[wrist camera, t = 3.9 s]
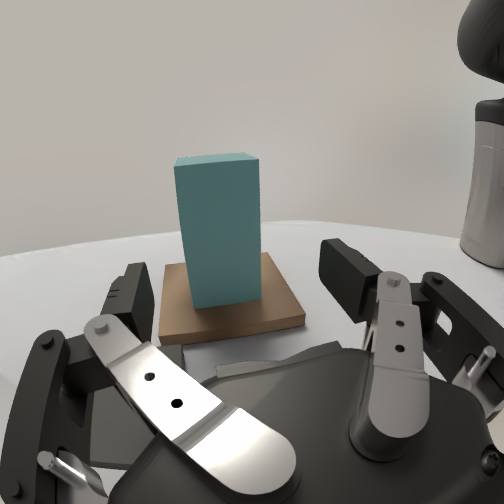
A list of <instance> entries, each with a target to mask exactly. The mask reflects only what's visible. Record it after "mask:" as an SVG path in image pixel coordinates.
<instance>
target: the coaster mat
mask: <svg viewBox="0 0 504 504" xmlns="http://www.w3.org/2000/svg"><path fill="white" fill-rule="evenodd" d="M156 348H157V349H158V350H159V351H160V352H162V353H163V354H164V355H165V356H166V357H167V358H168V359H169V360H171V361H172V362H173V363H174V364H175V365H176V366H177V367H179V368H180V369H181V370H182V371H183V372H185V367H184V354H183V350H182V347H181V344H180V345H170V346H160V347H156ZM153 438H154V437H153V435H152V434H151V433H150V432H149V431H148V430H147V429H146V427H145V426H144V425H143V424H142V422H141V421H140V420H139V419H138V417H137V416H136V415H135V414H134V413H133V411H132V410H131V409H130V408H129V406H128V405H127V404H126V403H125V401H124V400H123V399H122V398H121V396H120V395H119V394H118V392H117V391H116V390H115V388H114V387H113V386H111V387H108V388H105V389H101V390H98V391H95V394H94V402H93V413H92V425H91V442H90V466H91V467H99V468H108V469H118V470H128V469H129V468H130V466H131V465H132V464H133V463H134V462H135V460H136V459H137V458H138V457H139V455H140V454H141V453H142V452H143V450H144V449H145V448H146V447H147V445H148V444H149V443H150V442H151V440H152V439H153Z"/></svg>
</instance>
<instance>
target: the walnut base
mask: <svg viewBox="0 0 504 504" xmlns="http://www.w3.org/2000/svg"><path fill="white" fill-rule="evenodd" d="M261 292H262V299H261V300H255V301H249V302H242V303H235V304H228V305H221V306H214V307H207V308H199V309H194V308H193V302H192V297H191V291H190V285H189V280H188V274H187V267H186V262H185V263H177V264H169V265H165V273H164V282H163V291H162V300H161V310H160V322H159V335H158V336H159V339H160V342H161V345H162V346H170V345H180V344H181V345H184V344H192V343H200V342H208V341H215V340H222V339H229V338H235V337H242V336H248V335H254V334H259V333H265V332H270V331H276V330H281V329H286V328H291V327H296V326H300V325H305V316H306V313H305V312H304V310H303V309H302V307H301V305H300V304H299V302H298V300H297V299H296V297H295V296H294V294H293V292H292V291H291V289H290V288H289V286H288V284H287V283H286V281H285V280H284V278H283V276H282V275H281V273H280V272H279V270H278V268H277V267H276V265H275V264H274V262H273V260H272V259H271V257H270V256H269V254H268V252H265V253H261Z"/></svg>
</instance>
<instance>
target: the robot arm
mask: <svg viewBox="0 0 504 504" xmlns="http://www.w3.org/2000/svg"><path fill="white" fill-rule="evenodd" d="M457 45H458V50H459V54H460V57H461V59H462V61H463V62H464V64H465V65H466V66H467V67H468V68H469V69H470V70H472V71H474V72H475V73H477V74H479V75H482V76H484V77H487V78H490V79H492V80H495V81H498V82H501V83H503V84H504V0H471V1H470V3H469V5H468V7H467V9H466V11H465V12H464V14H463V16H462V19H461V22H460V25H459V29H458V37H457ZM475 121H476V123H475V150H474V163H473V173H472V181H471V188H470V195H469V201H468V206H467V212H466V217H465V222H464V226H463V231H462V235H461V239H460V246H461V248H462V249H463V250H464V251H465V252H466V253H467V254H468V255H470V256H471V257H473V258H475V259H476V260H478V261H480V262H482V263H485V264H487V265H490V266H493V267H497V268H504V98H502V99H498V100H485V101H480V102H478V103H477V104H476V108H475ZM319 277H320V280H321V282H322V283H323V285H324V286H325V287H326V288H327V290H328V291H329V292H330V293H331V294H332V296H333V297H334V298H335V299H336V301H337V302H338V303H339V304H340V306H341V307H342V308H343V309H344V311H345V312H346V313H347V314H348V316H349V317H350V318H351V319H352V321H353V322H354V323H355V324H356V323H360V322H363V321H366V322H367V323H366V327H365V331H364V338H363V344H362V349H361V350H360V349H353V348H342V347H341V345H340V344H339V342H338V341H334V342H330V343H326V344H323V345H319V346H315V347H311V348H309V349H307V350H304V351H302V352H300V353H298V354H296V355H294V356H292V357H290V358H288V359H285V360H282V361H245V362H239V363H233V364H226V365H220V366H216V370H217V376H214V377H212V378H209V379H207V380H205V381H204V382H202V383H200V384H198V383H197V382H196V381H194V380H193V379H192V378H191V377H189V376H188V375H187V374H186V373H185V372H183V371H182V370H181V369H180V368H179V367H177V366H176V365H175V364H174V363H173V362H172V361H171V360H169V359H168V358H167V357H166V356H165V355H164V354H163V353H162V352H160V351H159V350H158V349H157V348H156V347H155V346H154V345H153V344H152V343H151V334H152V324H153V315H154V306H155V303H154V295H153V290H152V287H151V283H150V278H149V274H148V270H147V266H146V264H145V262H142V263H134V264H128V266H127V269H126V272H125V274H124V276H119V277H118V278H117V279H116V280H115V281H114V282H113V283H112V284H111V287H110V289H109V292H108V295H107V298H106V300H105V303H104V305H103V308H102V311H101V314H100V315H99V316H97V317H95V318H93V319H91V320H90V321H89V322H88V323H87V324H86V326H85V328H84V334H82V335H79V336H76V337H72V338H69V339H65V337H64V335H63V333H62V332H61V331H59V330H49V331H46V332H44V333H42V334H41V335H40V336H39V337H38V338H37V339H36V340H35V342H34V344H33V346H32V349H31V351H30V354H29V356H28V359H27V361H26V364H25V367H24V370H23V372H22V375H21V378H20V381H19V384H18V387H17V390H16V394H15V397H14V400H13V404H12V408H11V412H10V415H9V420H8V423H7V428H6V433H5V438H4V443H3V448H2V455H1V461H0V495H1V498H2V499H3V501H4V503H5V504H504V454H503V453H501V452H499V450H497V448H496V447H495V445H494V443H493V441H492V438H491V436H490V433H489V430H488V426H487V423H489V422H491V421H492V420H493V419H494V418H495V417H496V416H497V414H498V413H499V412H500V411H501V410H502V409H503V408H504V328H503V327H502V326H501V325H500V324H499V323H498V322H497V321H495V320H494V319H493V318H492V317H491V316H490V315H489V314H488V313H487V312H486V311H485V310H484V309H483V308H482V307H480V306H479V305H478V304H477V303H476V302H475V301H474V300H473V299H472V298H470V297H469V296H468V295H467V294H466V293H465V292H463V291H462V290H461V289H460V288H459V287H458V286H456V285H455V284H454V283H453V282H452V281H450V280H449V279H448V278H447V277H445V276H444V275H442V274H440V273H436V272H426V273H425V274H424V275H423V278H422V281H421V283H409V280H408V279H407V278H406V277H405V276H403V275H402V274H399V273H396V272H391V271H387V272H383V271H381V270H380V269H379V268H378V267H377V266H376V265H374V264H373V263H372V262H371V261H369V260H368V259H367V258H366V257H364V255H362V254H361V253H360V252H359V251H357V250H355V249H353V248H350V247H348V246H347V245H346V244H345V243H344V242H342V241H341V240H340V239H338V238H336V239H327V240H323V241H322V243H321V249H320V260H319ZM441 310H442V311H443V312H444V313H445V314H446V315H447V316H448V317H449V318H450V320H451V322H452V330H451V332H450V335H448V334H447V333H446V332H445V331H444V330H443V329H442V328H441V327H440V326H439V324H438V323H437V319H438V317H439V315H440V312H441ZM423 351H424V352H425V353H426V355H427V356H428V357H429V358H430V360H431V361H432V362H433V364H434V365H435V366H436V367H437V369H438V370H439V371H440V373H441V374H442V375H443V377H444V378H445V379H446V381H447V382H446V381H443V380H440V379H438V378H435V377H432V376H430V375H428V374H427V373H425V371H424V356H423ZM111 386H113V387H114V388H115V390H116V391H117V392H118V394H119V395H120V396H121V398H122V399H123V400H124V401H125V403H126V404H127V405H128V406H129V408H130V409H131V410H132V411H133V413H134V414H135V415H136V416H137V417H138V419H139V420H140V421H141V422H142V424H143V425H144V426H145V427H146V429H147V430H148V431H149V432H150V433H151V434H152V435H153V437H154V438H153V439H152V440H151V442H150V443H149V444H148V445H147V447H146V448H145V449H144V450H143V452H142V453H141V454H140V455H139V457H138V458H137V459H136V460H135V462H134V463H133V464H132V465H131V466H130V468H129V469H128V470H127V471H126V472H125V474H124V475H123V476H122V477H121V478H120V480H119V481H118V482H117V483H116V484H115V486H114V487H113V489H112V491H111V492H110V495H109V497H108V496H107V494H106V493H105V491H104V488H103V484H102V480H101V478H100V476H99V474H98V473H97V472H96V471H95V470H93V469H92V468H91V467H90V442H91V425H92V413H93V402H94V394H95V391H98V390H101V389H105V388H108V387H111Z"/></svg>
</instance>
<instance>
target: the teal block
mask: <svg viewBox="0 0 504 504" xmlns="http://www.w3.org/2000/svg"><path fill="white" fill-rule="evenodd" d="M174 174H175V183H176V193H177V202H178V210H179V219H180V226H181V234H182V241H183V248H184V255H185V261H186V267H187V274H188V280H189V285H190V291H191V297H192V302H193V308H194V309H199V308H207V307H214V306H221V305H228V304H235V303H242V302H249V301H255V300H261V299H262V292H261V233H260V192H259V191H260V188H259V159H257V158H255V157H252V156H250V155H248V154H245V153H231V154H230V153H229V154H218V155H217V154H216V155H205V156H195V157H186V158H178V159H177V161H176V163H175V165H174Z"/></svg>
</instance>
